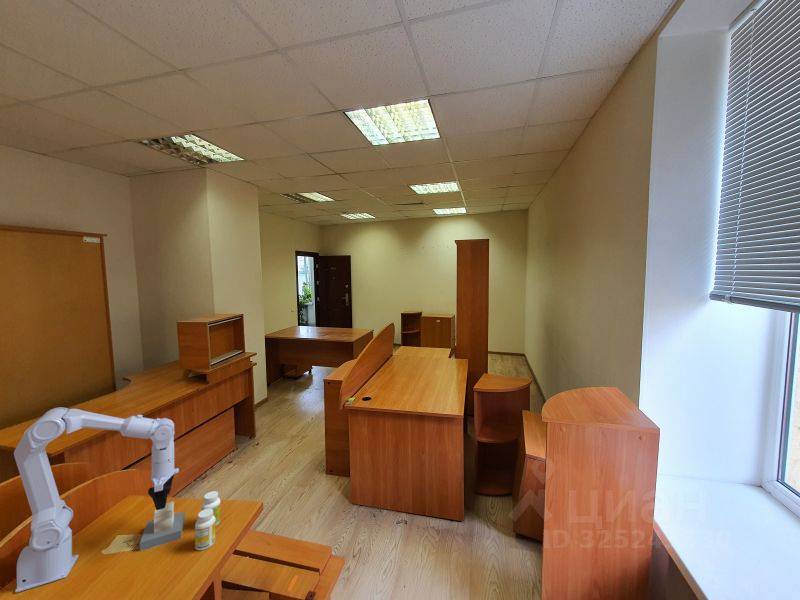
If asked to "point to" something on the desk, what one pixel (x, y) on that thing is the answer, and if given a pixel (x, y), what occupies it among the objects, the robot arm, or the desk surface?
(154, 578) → the desk surface
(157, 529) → the cream block
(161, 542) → the base block
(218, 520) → the supplement bottle
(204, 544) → the supplement bottle
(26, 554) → the robot arm
